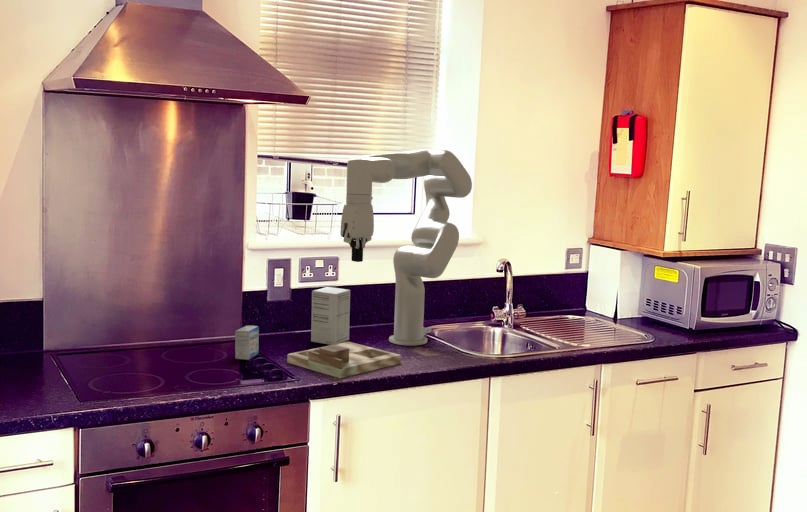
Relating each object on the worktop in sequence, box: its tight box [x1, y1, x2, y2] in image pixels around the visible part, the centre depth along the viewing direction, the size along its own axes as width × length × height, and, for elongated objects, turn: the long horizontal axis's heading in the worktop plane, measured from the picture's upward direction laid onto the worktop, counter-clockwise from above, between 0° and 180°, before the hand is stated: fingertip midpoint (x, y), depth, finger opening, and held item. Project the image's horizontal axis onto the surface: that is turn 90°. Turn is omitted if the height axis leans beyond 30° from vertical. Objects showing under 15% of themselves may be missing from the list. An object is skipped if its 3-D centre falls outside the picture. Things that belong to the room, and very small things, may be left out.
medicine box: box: [234, 325, 260, 361], centre depth 262 cm, size 8×4×9 cm, turn 168°
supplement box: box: [310, 286, 351, 346], centre depth 285 cm, size 10×9×17 cm
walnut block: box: [318, 345, 349, 364], centre depth 250 cm, size 6×6×4 cm
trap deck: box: [286, 341, 402, 379], centre depth 259 cm, size 25×22×5 cm
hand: (357, 261), depth 264 cm, fingers closed
